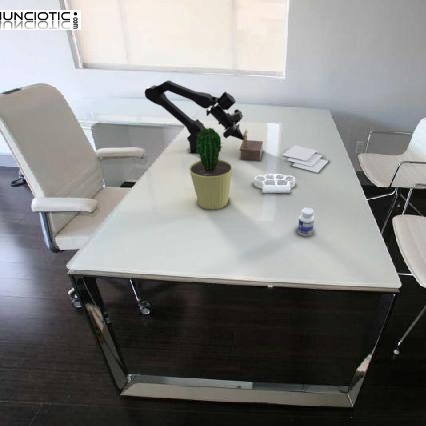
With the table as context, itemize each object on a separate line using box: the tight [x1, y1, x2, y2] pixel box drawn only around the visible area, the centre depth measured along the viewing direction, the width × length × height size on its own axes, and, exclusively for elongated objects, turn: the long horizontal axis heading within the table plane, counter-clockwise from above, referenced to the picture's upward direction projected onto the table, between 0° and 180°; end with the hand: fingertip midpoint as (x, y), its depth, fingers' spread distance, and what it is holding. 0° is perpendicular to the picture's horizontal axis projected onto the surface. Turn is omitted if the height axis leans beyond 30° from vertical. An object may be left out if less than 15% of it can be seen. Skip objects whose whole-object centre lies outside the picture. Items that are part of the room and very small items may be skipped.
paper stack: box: [282, 145, 329, 173], centre depth 165 cm, size 23×25×1 cm
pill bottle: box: [297, 207, 315, 237], centre depth 109 cm, size 5×5×9 cm
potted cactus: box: [188, 125, 233, 210], centre depth 115 cm, size 15×15×30 cm
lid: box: [238, 129, 264, 152], centre depth 160 cm, size 10×14×7 cm
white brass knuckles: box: [253, 173, 296, 194], centre depth 137 cm, size 3×18×15 cm
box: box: [240, 143, 264, 162], centre depth 164 cm, size 10×14×5 cm
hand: (243, 139), depth 160 cm, fingers closed
